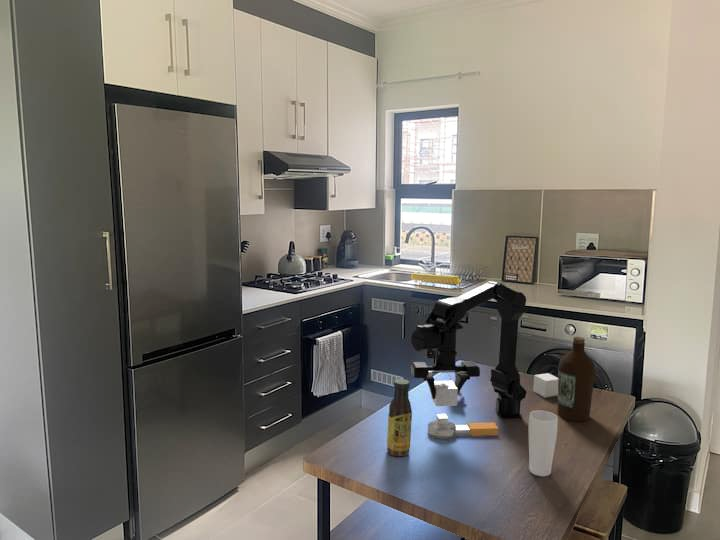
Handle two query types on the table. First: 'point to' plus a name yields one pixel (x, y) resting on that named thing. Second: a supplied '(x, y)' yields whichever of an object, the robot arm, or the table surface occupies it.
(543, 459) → the drinking glass
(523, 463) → the table surface
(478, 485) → the table surface
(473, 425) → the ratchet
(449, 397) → the brushed metal cube
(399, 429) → the sauce bottle
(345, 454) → the table surface
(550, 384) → the white cube
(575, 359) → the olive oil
